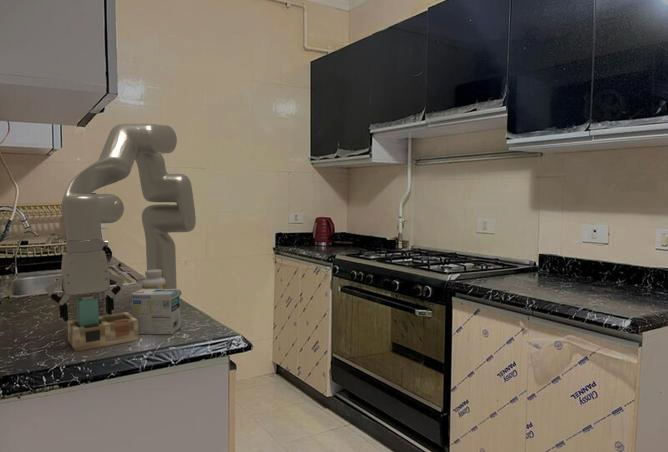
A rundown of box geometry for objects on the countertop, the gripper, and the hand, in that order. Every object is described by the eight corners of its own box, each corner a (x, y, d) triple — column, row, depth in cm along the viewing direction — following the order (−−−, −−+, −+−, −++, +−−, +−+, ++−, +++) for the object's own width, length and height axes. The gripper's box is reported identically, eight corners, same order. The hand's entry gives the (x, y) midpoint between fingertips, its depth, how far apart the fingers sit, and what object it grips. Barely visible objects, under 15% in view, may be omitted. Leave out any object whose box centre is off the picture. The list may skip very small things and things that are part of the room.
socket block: (68, 340, 122) (67, 319, 122) (127, 330, 130) (126, 310, 130) (76, 351, 114) (75, 329, 113) (138, 340, 122) (138, 319, 122)
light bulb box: (181, 327, 133) (180, 288, 132) (173, 335, 127) (171, 293, 126) (142, 327, 134) (141, 288, 133) (131, 334, 127) (130, 293, 126)
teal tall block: (78, 338, 121) (76, 295, 120) (95, 335, 123) (94, 293, 122) (81, 342, 117) (79, 298, 117) (99, 339, 120) (97, 296, 119)
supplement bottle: (160, 308, 153) (158, 267, 152) (170, 312, 149) (169, 270, 148) (139, 312, 148) (137, 270, 147) (149, 316, 144) (148, 273, 143)
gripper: (118, 242, 126) (121, 308, 128) (40, 248, 116) (44, 319, 118) (126, 245, 121) (129, 314, 122) (45, 251, 110) (49, 326, 112)
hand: (87, 316), depth 120 cm, fingers open, 9 cm apart
